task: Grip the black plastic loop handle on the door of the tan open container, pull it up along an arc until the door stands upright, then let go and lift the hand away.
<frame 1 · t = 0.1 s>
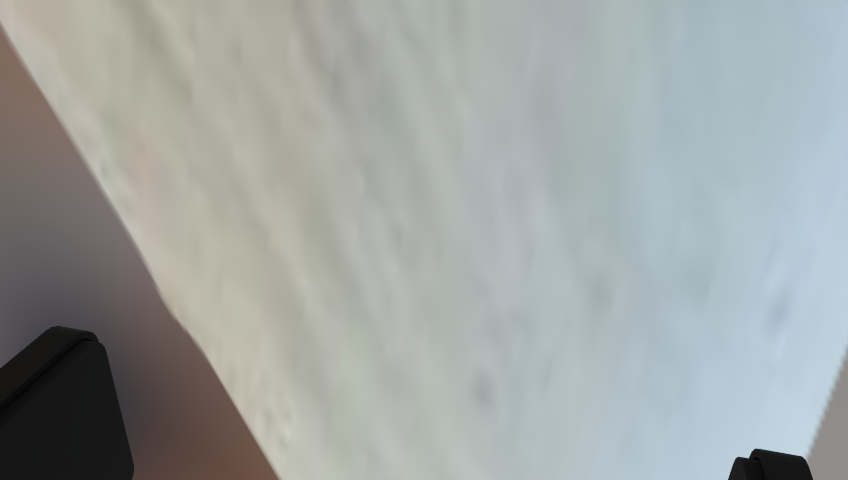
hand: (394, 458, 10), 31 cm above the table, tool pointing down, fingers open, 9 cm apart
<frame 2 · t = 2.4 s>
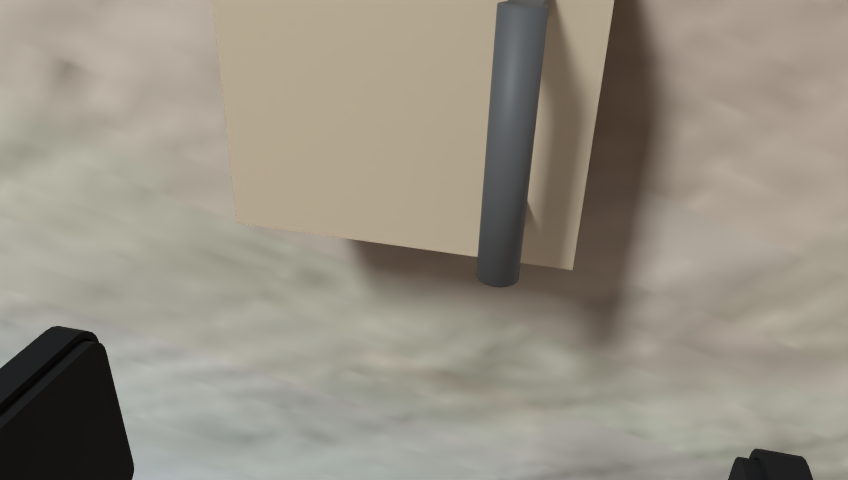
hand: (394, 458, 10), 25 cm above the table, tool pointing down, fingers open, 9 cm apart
door: (383, 117, 23), point 11 cm above the table, hinge at 0.0°
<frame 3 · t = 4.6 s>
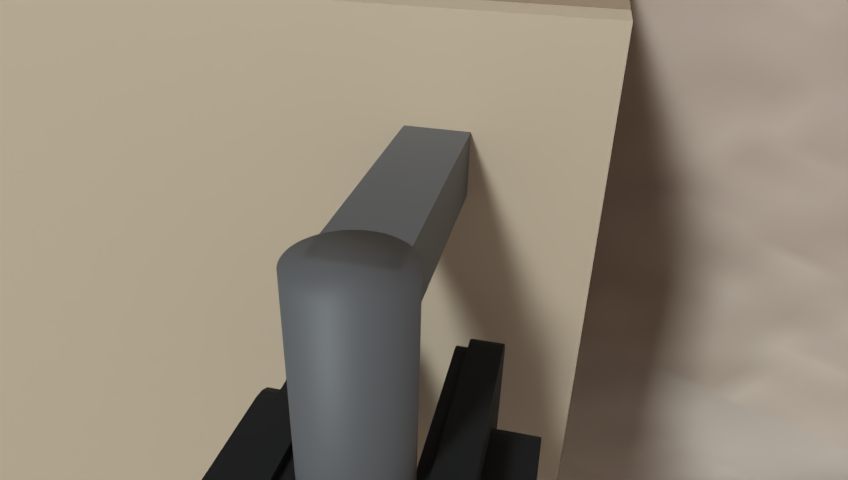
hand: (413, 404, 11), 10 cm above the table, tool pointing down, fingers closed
tan open container: (347, 153, 21), on the table
door: (134, 390, 11), point 11 cm above the table, hinge at 0.0°, touching gripper
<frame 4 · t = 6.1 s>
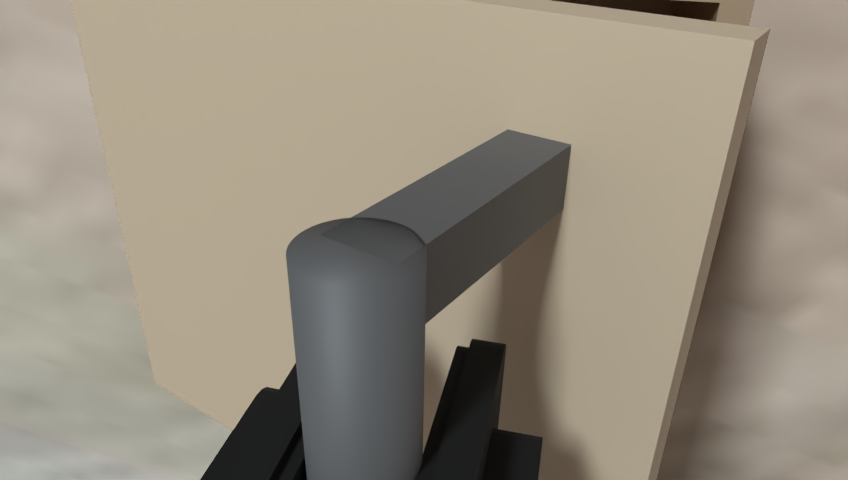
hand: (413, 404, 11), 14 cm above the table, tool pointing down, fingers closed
tan open container: (455, 114, 24), on the table
door: (247, 335, 13), point 13 cm above the table, hinge at 22.1°, touching gripper
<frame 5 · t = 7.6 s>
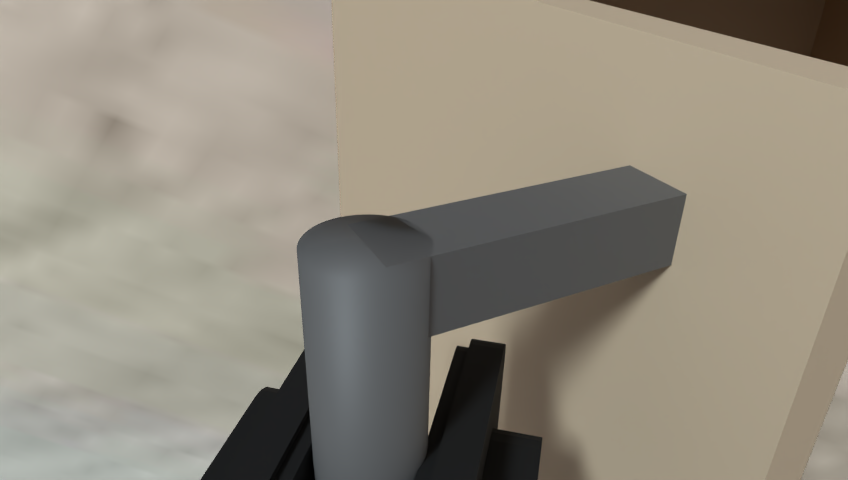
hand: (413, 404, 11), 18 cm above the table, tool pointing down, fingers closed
tan open container: (602, 103, 26), on the table
door: (375, 314, 14), point 15 cm above the table, hinge at 49.5°, touching gripper
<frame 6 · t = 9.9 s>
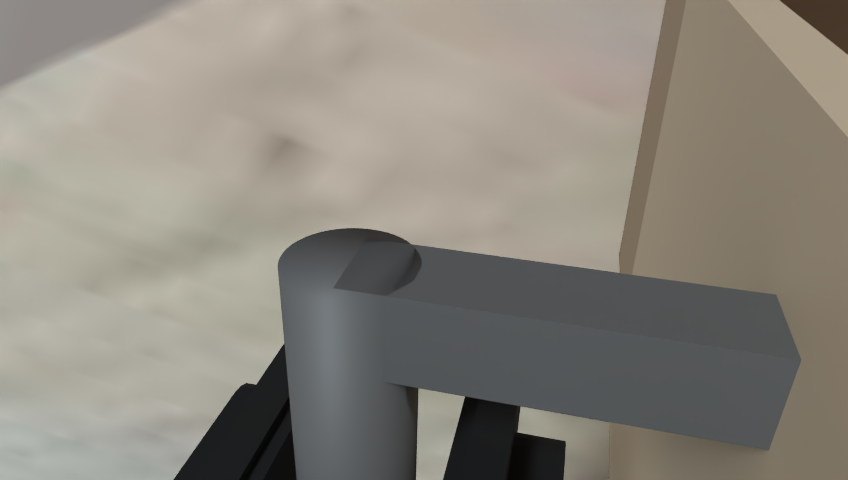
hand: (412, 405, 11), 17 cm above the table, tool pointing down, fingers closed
door: (548, 362, 12), point 15 cm above the table, hinge at 90.2°, touching gripper
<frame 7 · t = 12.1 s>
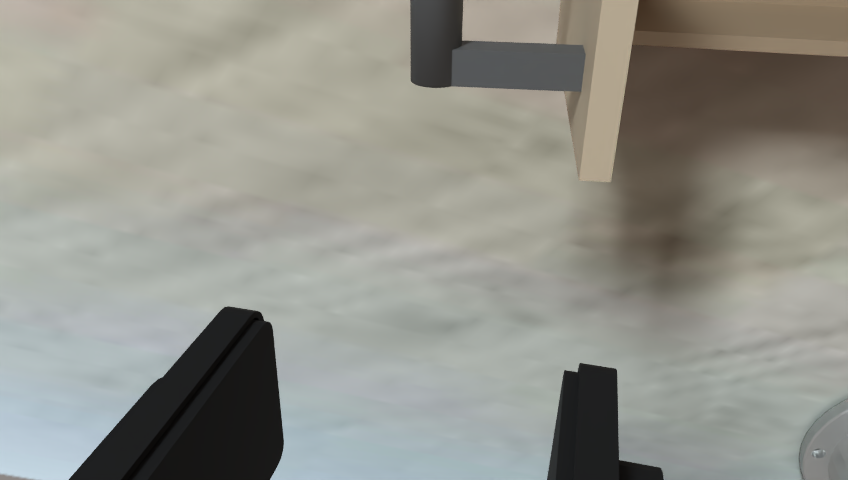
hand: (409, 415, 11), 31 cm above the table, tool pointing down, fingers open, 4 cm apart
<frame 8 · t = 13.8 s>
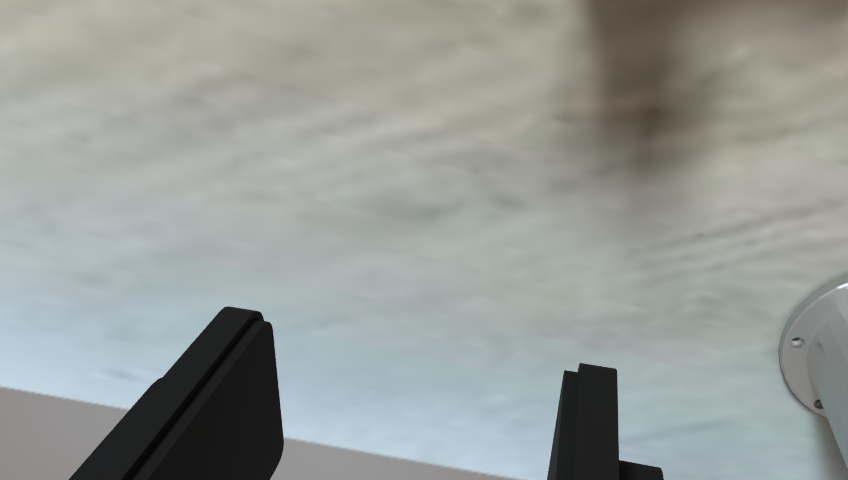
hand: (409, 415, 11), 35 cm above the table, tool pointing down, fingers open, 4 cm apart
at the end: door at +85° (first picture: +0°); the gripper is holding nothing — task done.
